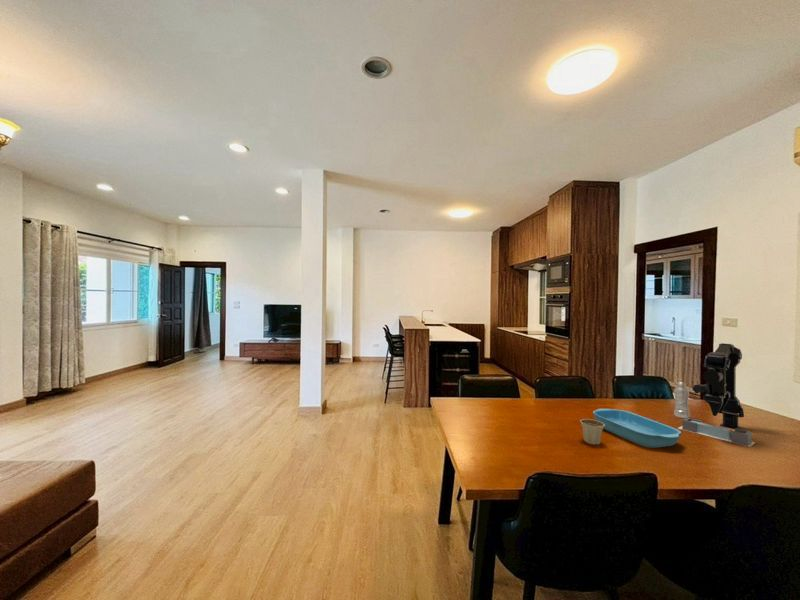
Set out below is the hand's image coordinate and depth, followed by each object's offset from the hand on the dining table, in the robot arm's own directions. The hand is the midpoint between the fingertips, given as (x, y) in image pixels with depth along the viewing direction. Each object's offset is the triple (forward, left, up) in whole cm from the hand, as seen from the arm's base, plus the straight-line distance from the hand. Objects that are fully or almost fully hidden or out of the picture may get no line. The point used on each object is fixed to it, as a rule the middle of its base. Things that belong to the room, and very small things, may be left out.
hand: (717, 414), depth 153 cm
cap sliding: (0, +8, -10) cm, 13 cm away
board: (-1, -1, -11) cm, 11 cm away
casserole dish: (+31, -23, -12) cm, 40 cm away
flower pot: (+57, -29, -11) cm, 65 cm away
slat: (0, -3, -10) cm, 11 cm away
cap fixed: (0, -9, -10) cm, 14 cm away
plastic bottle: (-20, -19, -11) cm, 30 cm away
